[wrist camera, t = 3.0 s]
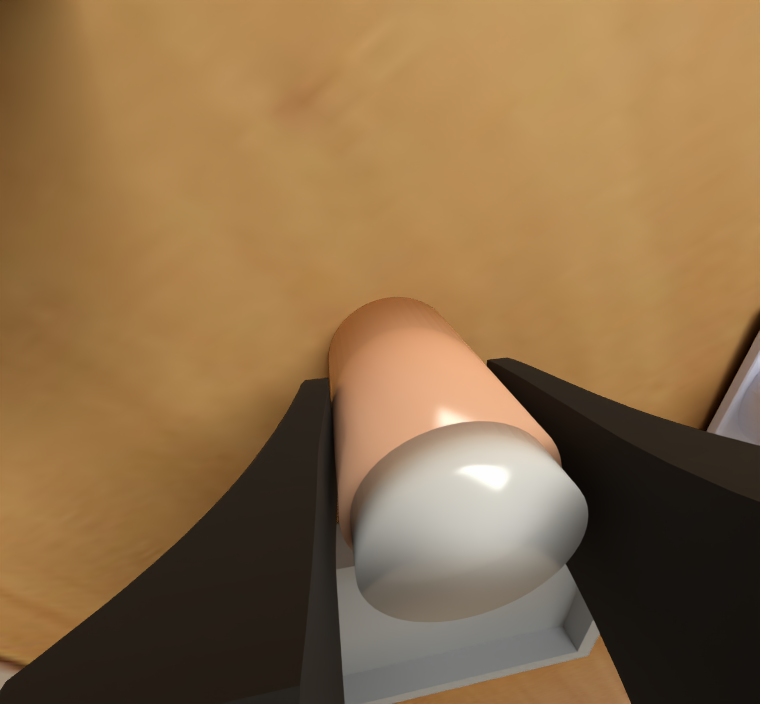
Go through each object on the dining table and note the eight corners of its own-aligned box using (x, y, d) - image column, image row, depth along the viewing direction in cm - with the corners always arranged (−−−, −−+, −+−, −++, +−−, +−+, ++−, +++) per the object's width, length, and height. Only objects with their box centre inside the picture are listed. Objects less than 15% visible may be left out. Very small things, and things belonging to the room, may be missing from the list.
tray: (630, 473, 17) (666, 507, 15) (567, 620, 24) (588, 655, 22) (258, 536, 15) (250, 585, 13) (302, 680, 21) (301, 725, 19)
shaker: (458, 292, 11) (634, 434, 5) (449, 402, 13) (566, 601, 7) (321, 303, 11) (329, 481, 4) (334, 417, 13) (352, 647, 6)
